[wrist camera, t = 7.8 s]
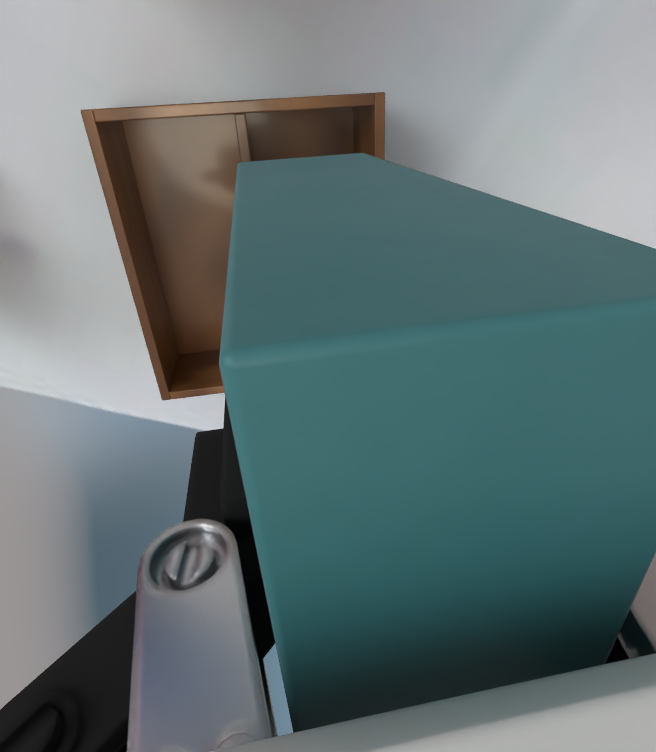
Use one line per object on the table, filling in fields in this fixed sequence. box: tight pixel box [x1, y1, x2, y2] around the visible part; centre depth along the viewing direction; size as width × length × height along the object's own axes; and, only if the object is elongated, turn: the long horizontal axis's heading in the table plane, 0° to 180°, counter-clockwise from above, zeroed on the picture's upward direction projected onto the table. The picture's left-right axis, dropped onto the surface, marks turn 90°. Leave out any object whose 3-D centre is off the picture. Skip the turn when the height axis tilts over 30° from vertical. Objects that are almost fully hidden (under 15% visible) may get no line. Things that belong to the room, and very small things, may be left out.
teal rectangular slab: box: [219, 153, 656, 733], centre depth 10 cm, size 3×10×11 cm, turn 3°
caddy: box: [81, 92, 385, 400], centre depth 27 cm, size 14×15×6 cm
